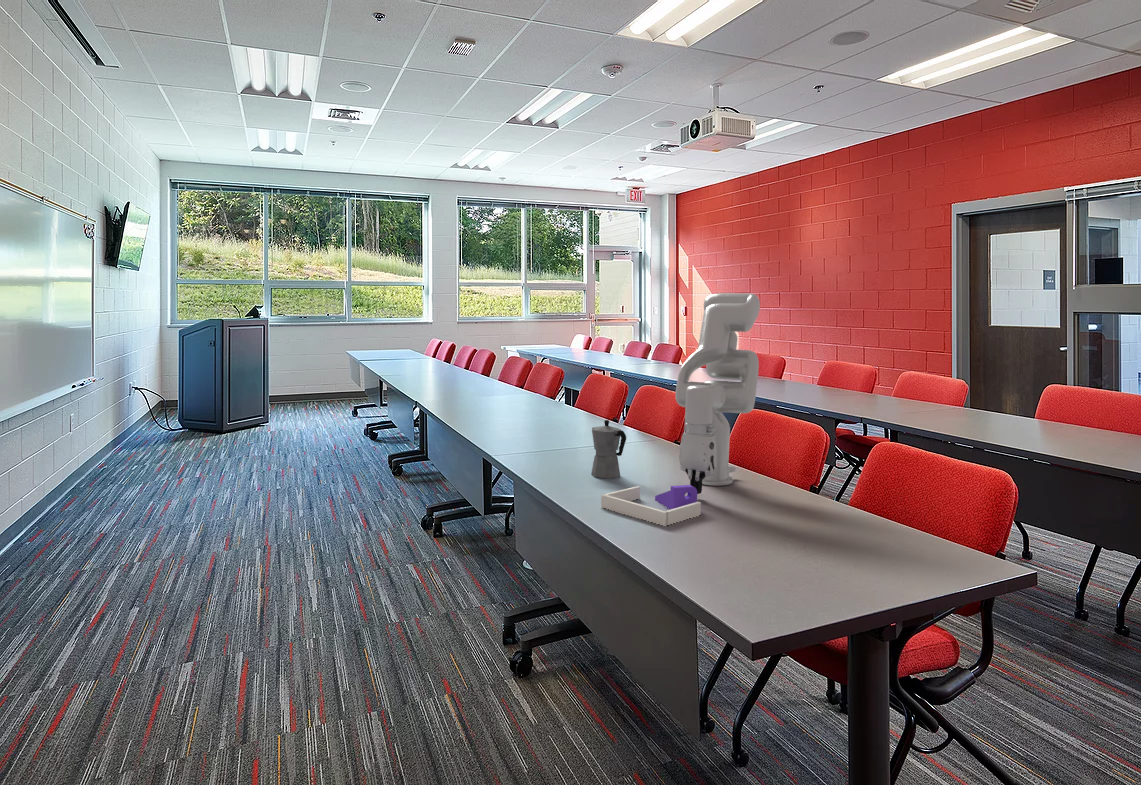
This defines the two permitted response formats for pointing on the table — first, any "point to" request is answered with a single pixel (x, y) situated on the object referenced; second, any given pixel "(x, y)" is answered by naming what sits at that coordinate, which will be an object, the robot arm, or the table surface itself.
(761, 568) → the table surface
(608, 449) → the coffeepot
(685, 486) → the bracket
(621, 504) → the white u-shaped fence
